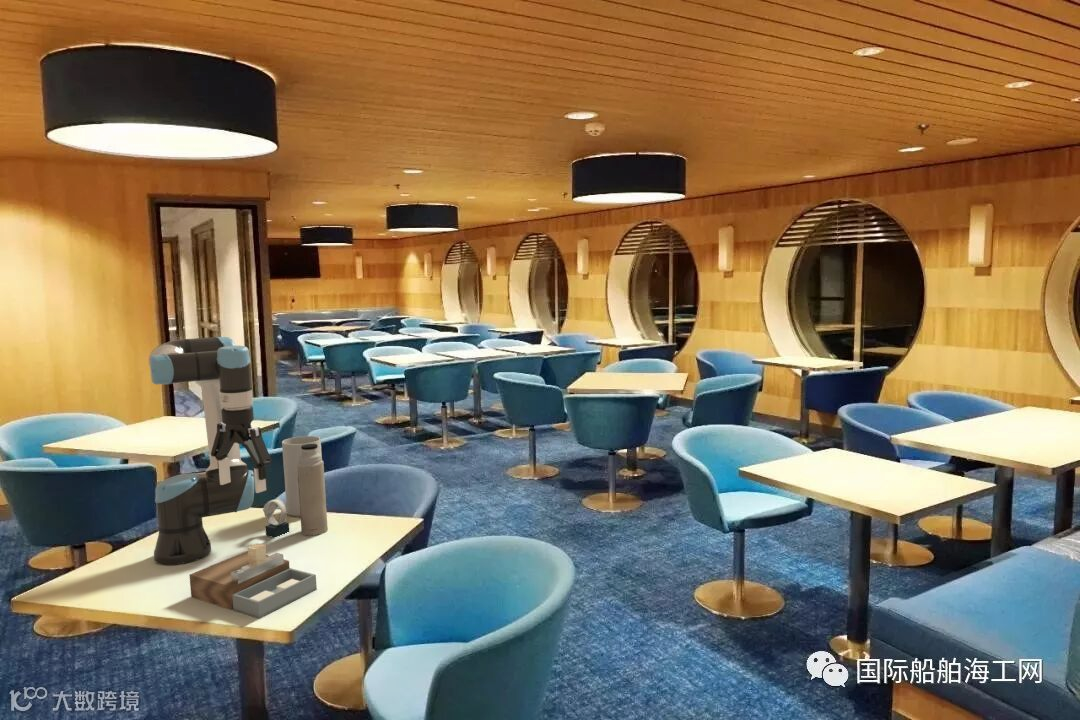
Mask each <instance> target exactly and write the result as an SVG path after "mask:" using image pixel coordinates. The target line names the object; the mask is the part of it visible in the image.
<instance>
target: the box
mask: <svg viewBox="0 0 1080 720" xmlns="http://www.w3.org/2000/svg"><path fill="white" fill-rule="evenodd" d="M291 579H294V580H298V581H299V582H297V583H295V584H293V585H291V586H289V587H287V588H285V589H283V590H281V591H278V592H277V588H276V586H278V585H280V584H282V583H284V582H286V581H288V580H291ZM265 590H266V591H269V592H273V593H274V594H272V595H270V596H268V597H266V598H264V599H262V600H260V601H257V600H253V599H250V598H251V597H253V596H255V595H257V594H259V593H261V592H263V591H265ZM317 590H318V589H317V575H316V574H315V573H311V572H307V571H303V570H298V569H296V568H292V567H290V569H287V570H285V571H283V572H281V573H279V574H276V575H274V576H272V577H270V578H268V579H266V580H263V581H261V582H259V583H257V584H255V585H252V586H250V587H248V588H246V589H244V590H241V591H239V592H237V593H235V594H233V595H232V599H233V610H232V611H234V612H238V613H241V614H243V615H247V616H250V617H254V618H257V619H260V620H261V617H262V618H263V616H264V617H266V616H267V615H269V614H272V613H273V612H275V611H277V610H279V609H281V608H283V607H286V606H287V605H290V604H291V603H292V602H295V601H297V600H299V599H301V598H303V597H305V596H306V595H308V594H309V595H310V594H311V593H313V592H314V591H317Z"/></svg>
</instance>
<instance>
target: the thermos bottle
mask: <svg viewBox="0 0 1080 720" xmlns="http://www.w3.org/2000/svg"><path fill="white" fill-rule="evenodd" d="M317 447H318V445H317V444H306V445H302V446H301V449H302V450H301V455H300V456H299V463H297V473H298V488H299V502H300V531H301V534H302V533H303V534H305V535H304V536H307V535H313V536H318V534H319V535H323V534H325V533H326V532H328V527H329V526H328V514H327V501H326V500H327V499H326V498H327V496H326V481H325V467H324V464H325V463H324V460H323V459H322V460H321V455H320V454H319V453H318V450H317ZM322 533H323V534H322ZM303 534H302V535H303Z"/></svg>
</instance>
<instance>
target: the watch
mask: <svg viewBox="0 0 1080 720" xmlns="http://www.w3.org/2000/svg"><path fill="white" fill-rule="evenodd" d="M278 508H279V509H280V515H279V518H278V519H279V520H278V521H277V520H276V519H275V517H274V516H273V514H274V513H275V511H276V510H277V509H278ZM262 511H263V513H264V517H265V518H266V520H267V521H268V523H269V524H267V525H265V526H264V528H265V536H266V535H267V536H266V537H269V536H272V537H271V538H274V537H277V536H279V537H281V536H280V535H282V534H284V535H286V534H285V533H287V532H289V533H290V523H289V522H288V521H287V522H286V520H287V518H288V513H287V507H286V504H285V502H284V501H283V500H281V499H279V498H276V499H271V500H269V501H267V502H266V503H265V505H264V506H263V508H262ZM287 534H288V533H287ZM282 536H283V535H282ZM277 538H278V537H277Z"/></svg>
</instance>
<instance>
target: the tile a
mask: <svg viewBox="0 0 1080 720" xmlns="http://www.w3.org/2000/svg"><path fill="white" fill-rule="evenodd" d="M272 594H274V593H273V592H269V591H266V590H265V591H263V592H261V593H259V594H257V595H255V596H253V597H251V598H250V599H253V600H257V601H260V600H262V599H264V598H266V597H268V596H270V595H272Z"/></svg>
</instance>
